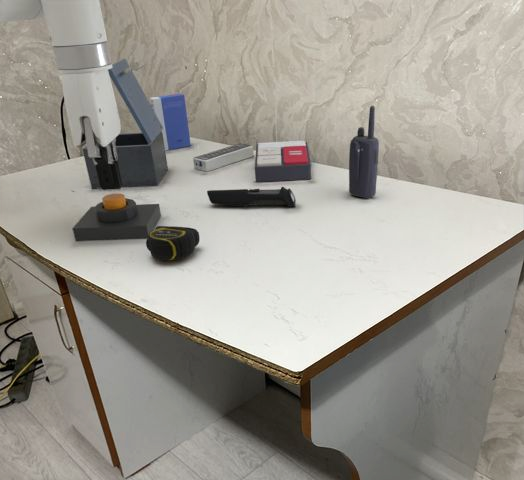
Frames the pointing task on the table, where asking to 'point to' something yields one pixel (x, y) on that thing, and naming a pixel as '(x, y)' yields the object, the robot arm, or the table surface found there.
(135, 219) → the control block
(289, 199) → the electric trimmer
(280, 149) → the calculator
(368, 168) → the two-way radio
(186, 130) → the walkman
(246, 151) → the multiport hub
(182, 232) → the tape measure
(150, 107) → the compartment lid
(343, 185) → the table surface
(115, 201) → the button
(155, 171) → the compartment
